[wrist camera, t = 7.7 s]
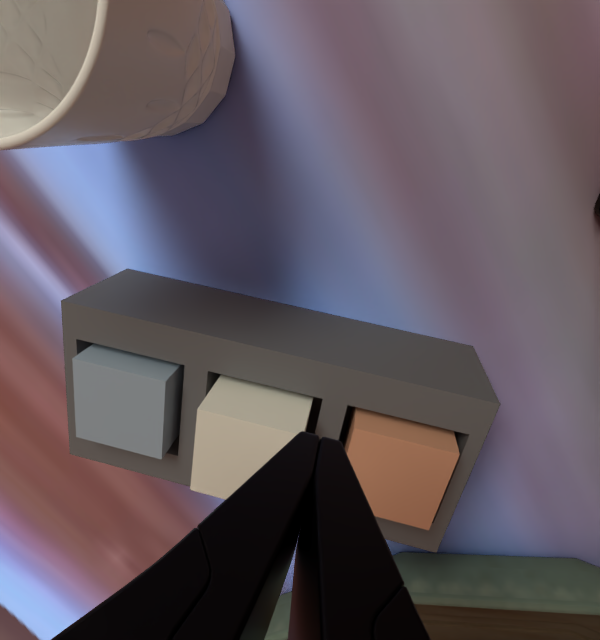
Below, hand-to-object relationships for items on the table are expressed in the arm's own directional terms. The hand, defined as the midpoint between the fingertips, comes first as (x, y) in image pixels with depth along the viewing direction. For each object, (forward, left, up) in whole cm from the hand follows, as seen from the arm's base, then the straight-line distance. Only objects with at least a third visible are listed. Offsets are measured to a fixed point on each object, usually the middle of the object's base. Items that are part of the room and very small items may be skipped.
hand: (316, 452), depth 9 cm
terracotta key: (-3, +6, -10) cm, 12 cm away
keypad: (+2, +6, -12) cm, 14 cm away
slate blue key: (+8, +6, -10) cm, 14 cm away
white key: (+2, +6, -8) cm, 11 cm away
